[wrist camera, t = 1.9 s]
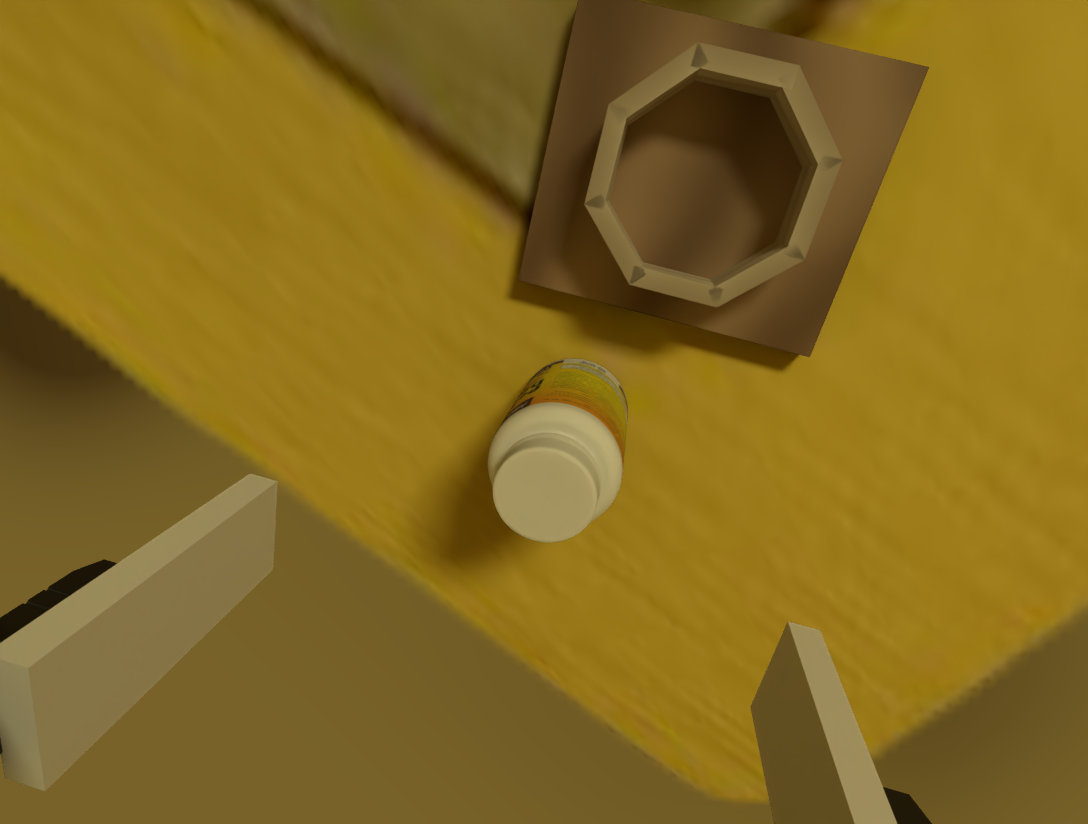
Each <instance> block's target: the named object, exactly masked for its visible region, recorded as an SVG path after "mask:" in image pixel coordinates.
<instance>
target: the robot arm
mask: <svg viewBox="0 0 1088 824" xmlns="http://www.w3.org/2000/svg"><path fill="white" fill-rule="evenodd" d="M276 500H277V481H275V480H271V479H268V478H264V477H260V476H257V475H253V474H249V475H247V476H246V477H244V478H243V479H241V480H240V481H239V482H237V483H235V484H234V485H232V486H231V487H230V488H228V489H227V490H225V491H224V492H222V493H221V494H219V495H218V496H216V497H215V498H213V499H212V500H211V501H209V502H208V503H206V504H204V505H203V506H202V507H200V508H199V509H197V510H196V511H194V512H193V513H191V514H190V515H188V516H187V517H185V518H184V519H182V520H181V521H179V522H178V523H176V524H175V525H174V526H172V527H171V528H169V529H168V530H166V531H165V532H163V533H162V534H160V535H159V536H157V537H156V538H154V539H153V540H151V541H150V542H149V543H147V544H146V545H144V546H143V547H141V548H140V549H138V550H137V551H135V552H134V553H132V554H131V555H129V556H128V557H126V558H125V559H123V560H122V561H121V562H119V563H114V562H111V561H107V560H102V561H99V562H96V563H93V564H91V565H88V566H85V567H83V568H80V569H77V570H75V571H73V572H71V573H69V574H68V575H66V576H65V577H63V578H62V579H60V580H59V581H57V582H56V583H54V584H52V585H51V586H49V588H48V590H47V591H45V590H43V591H41V592H40V593H38V594H37V595H35V596H34V597H32V598H30V599H29V600H28V602H27V603H26V604H21V605H19V606H18V607H16V608H15V609H13V610H12V611H10V612H9V613H7V614H5V615H4V616H2V617H1V618H0V754H1V757H2V763H3V769H4V775H5V778H7V779H10V780H13V781H16V782H19V783H22V784H25V785H28V786H31V787H34V788H37V789H40V790H43V791H46V790H47V789H48V788H49V787H50V786H51V785H52V784H53V783H54V782H55V781H56V780H57V779H58V778H59V777H60V776H61V775H62V774H63V773H64V772H65V771H66V770H67V769H68V768H69V767H70V766H72V764H74V763H75V762H76V761H77V760H78V759H79V758H80V757H81V756H82V755H83V754H84V753H85V752H86V751H87V750H88V749H89V748H90V747H91V746H92V745H93V744H94V743H95V742H96V741H97V740H98V739H99V738H100V737H101V736H102V735H103V734H104V733H105V732H106V731H107V730H108V729H109V728H111V727H112V725H114V724H115V723H116V722H117V721H118V720H119V719H120V718H121V717H122V716H123V715H124V714H125V713H126V712H127V711H128V710H129V709H130V708H131V707H132V706H133V705H134V704H135V703H136V702H137V701H138V700H139V699H140V698H141V697H142V696H143V695H144V694H145V693H146V692H147V691H148V690H149V689H150V688H151V687H153V686H154V685H155V684H156V683H157V682H158V681H159V680H160V679H161V678H162V677H163V676H164V675H165V674H166V673H167V672H168V671H169V670H170V669H171V668H172V667H173V666H174V665H175V664H176V663H177V662H178V661H179V660H180V659H181V658H182V657H183V656H184V655H185V654H186V653H188V651H190V650H191V649H192V648H193V647H194V646H195V645H196V644H197V643H198V642H199V641H200V640H201V639H202V638H203V637H204V636H205V635H206V634H207V633H208V632H209V631H210V630H211V629H212V628H213V627H214V626H215V625H216V624H217V623H218V622H219V621H220V620H221V619H222V618H223V617H224V616H226V615H227V614H228V613H229V611H231V610H232V609H233V608H234V607H235V606H236V605H237V604H238V603H239V602H240V601H241V600H242V599H243V598H244V597H245V596H246V595H247V594H248V593H249V592H250V591H251V590H252V589H253V588H254V587H255V586H256V585H257V584H258V583H259V582H260V581H261V580H262V579H263V578H264V577H265V576H267V575H268V574H269V572H271V571H272V570H273V560H274V541H275V520H276ZM751 712H752V717H753V722H754V727H755V732H756V737H757V741H758V746H759V751H760V756H761V761H762V766H763V771H764V776H765V781H766V786H767V791H768V796H769V801H770V806H771V811H772V816H773V821H774V824H932V823H931V822H930V821H929V819H928V818H927V817H926V816H925V814H924V813H923V812H922V810H921V809H920V808H919V807H918V805H917V804H916V803H915V802H914V800H913V799H912V798H911V796H910V795H909V794H905V793H902V792H898V791H895V790H892V789H888V788H885V787H882V784H881V782H880V779H879V777H878V774H877V772H876V769H875V767H874V764H873V762H872V759H871V757H870V754H869V752H868V749H867V747H866V744H865V742H864V739H863V737H862V734H861V732H860V729H859V727H858V724H857V721H856V719H855V716H854V714H853V711H852V709H851V706H850V704H849V701H848V699H847V696H846V694H845V691H844V689H843V686H842V684H841V681H840V679H839V676H838V674H837V671H836V669H835V666H834V664H833V661H832V659H831V656H830V654H829V651H828V649H827V646H826V644H825V641H824V639H823V636H822V634H821V631H820V630H817V629H814V628H810V627H806V626H803V625H799V624H795V623H792V622H787V625H786V627H785V629H784V631H783V634H782V636H781V638H780V641H779V643H778V645H777V647H776V650H775V652H774V654H773V657H772V659H771V661H770V663H769V666H768V668H767V670H766V673H765V675H764V677H763V679H762V682H761V684H760V686H759V689H758V691H757V693H756V695H755V698H754V700H753V702H752V705H751Z"/></svg>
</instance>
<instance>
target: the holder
mask: <svg viewBox="0 0 1088 824" xmlns="http://www.w3.org/2000/svg"><path fill="white" fill-rule="evenodd" d="M928 69H929V67H927V66H922V65H918V64H913V63H909V62H905V61H900V60H896V59H891V58H887V57H883V56H878V55H874V54H869V53H865V52H860V51H856V50H852V49H847V48H843V47H838V46H834V45H830V44H825V43H821V42H816V41H812V40H808V39H803V38H799V37H794V36H790V35H785V34H781V33H777V32H772V31H768V30H763V29H759V28H755V27H750V26H746V25H741V24H737V23H733V22H728V21H724V20H719V19H715V18H711V17H706V16H702V15H697V14H693V13H688V12H684V11H680V10H675V9H671V8H666V7H662V6H658V5H653V4H649V3H644V2H640V1H636V0H578V3H577V8H576V13H575V17H574V22H573V27H572V31H571V36H570V41H569V45H568V50H567V55H566V59H565V64H564V69H563V73H562V78H561V83H560V87H559V92H558V97H557V101H556V106H555V111H554V115H553V120H552V125H551V129H550V134H549V139H548V143H547V148H546V153H545V157H544V162H543V167H542V171H541V176H540V181H539V185H538V190H537V195H536V199H535V204H534V209H533V213H532V218H531V223H530V227H529V232H528V237H527V241H526V246H525V251H524V255H523V260H522V265H521V269H520V274H519V279H518V280H519V281H523V282H527V283H530V284H534V285H538V286H542V287H545V288H549V289H553V290H557V291H561V292H564V293H568V294H572V295H576V296H580V297H583V298H587V299H591V300H595V301H598V302H602V303H606V304H610V305H614V306H617V307H621V308H625V309H629V310H633V311H636V312H640V313H644V314H648V315H651V316H655V317H659V318H663V319H667V320H670V321H674V322H678V323H682V324H686V325H689V326H693V327H697V328H701V329H704V330H708V331H712V332H716V333H720V334H723V335H727V336H731V337H735V338H739V339H742V340H746V341H750V342H754V343H757V344H761V345H765V346H769V347H773V348H776V349H780V350H784V351H788V352H792V353H795V354H799V355H803V356H807V357H810V355H811V353H812V350H813V348H814V345H815V343H816V341H817V338H818V336H819V333H820V331H821V328H822V326H823V324H824V321H825V319H826V316H827V314H828V311H829V309H830V307H831V304H832V302H833V299H834V297H835V294H836V292H837V290H838V287H839V285H840V282H841V280H842V277H843V275H844V273H845V270H846V268H847V265H848V263H849V260H850V258H851V256H852V253H853V251H854V248H855V246H856V243H857V241H858V239H859V236H860V234H861V231H862V229H863V227H864V224H865V222H866V219H867V217H868V214H869V212H870V210H871V207H872V205H873V202H874V200H875V197H876V195H877V193H878V190H879V188H880V185H881V183H882V180H883V178H884V176H885V173H886V171H887V168H888V166H889V163H890V161H891V159H892V156H893V154H894V151H895V149H896V146H897V144H898V142H899V139H900V137H901V134H902V132H903V129H904V127H905V125H906V122H907V120H908V117H909V115H910V112H911V110H912V108H913V105H914V103H915V100H916V98H917V96H918V93H919V91H920V88H921V86H922V83H923V81H924V79H925V76H926V74H927V71H928Z"/></svg>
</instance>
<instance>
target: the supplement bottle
mask: <svg viewBox="0 0 1088 824" xmlns="http://www.w3.org/2000/svg"><path fill="white" fill-rule="evenodd" d="M627 421H628V406H627V400H626V396H625V393H624V391H623V388H622V387H621V385H620V383H619V382H618V381H617V379H616V378H615V377H614V376H613V375H612V374H611V373H610V372H609V371H608V370H606V369H605V368H603V367H602V366H600V365H598V364H596V363H594V362H591V361H588V360H583V359H563V360H559V361H556V362H553V363H551V364H549V365H547V366H545V367H543V368H542V369H541V370H539V371H538V372H537V373H536V374H535V375H534V376H533V377H532V379H531V380H530V381H529V383H528V384H527V386H526V387H525V389H524V390H523V392H522V393H521V395H520V396H519V398H518V400H517V401H516V402H515V404H514V406H513V407H512V409H511V410H510V412H509V413H508V415H507V416H506V418H505V419H504V421H503V423H502V424H501V426H500V427H499V429H498V430H497V432H496V434H495V436H494V438H493V440H492V443H491V445H490V449H489V454H488V473H489V478H490V481H491V484H492V487H493V489H492V492H493V500H494V504H495V507H496V510H497V512H498V514H499V515H500V517H501V519H502V520H503V521H504V522H505V523H506V525H507V526H509V527H510V528H511V529H512V530H513V531H515V532H516V533H518V534H519V535H521V536H523V537H525V538H528V539H531V540H534V541H538V542H548V543H549V542H559V541H564V540H567V539H569V538H571V537H574V536H575V535H577V534H578V533H580V532H581V531H582V530H583V529H585V527H586V526H587V525H588V524H589V523H590V522H592V521H593V520H595V519H596V518H598V517H599V516H601V515H602V514H603V513H604V512H605V511H606V510H607V509H608V508H609V506H610V505H611V504H612V502H613V501H614V499H615V497H616V495H617V493H618V491H619V488H620V484H621V480H622V474H623V462H624V451H625V441H626V431H627Z"/></svg>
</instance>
